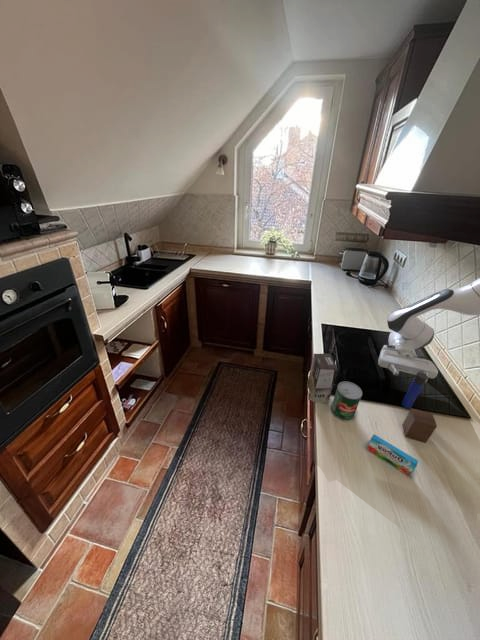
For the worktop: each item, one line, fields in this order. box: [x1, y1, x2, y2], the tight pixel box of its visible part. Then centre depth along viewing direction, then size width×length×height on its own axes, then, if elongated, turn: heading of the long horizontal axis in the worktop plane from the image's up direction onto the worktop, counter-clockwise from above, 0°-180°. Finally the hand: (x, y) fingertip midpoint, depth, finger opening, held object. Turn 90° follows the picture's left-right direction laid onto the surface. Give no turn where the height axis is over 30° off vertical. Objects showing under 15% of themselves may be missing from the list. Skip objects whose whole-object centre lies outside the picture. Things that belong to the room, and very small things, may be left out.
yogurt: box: [365, 433, 419, 477], centre depth 74 cm, size 12×2×6 cm, turn 48°
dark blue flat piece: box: [401, 372, 429, 410], centre depth 90 cm, size 13×3×13 cm
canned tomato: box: [330, 380, 363, 422], centre depth 88 cm, size 8×8×11 cm
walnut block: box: [401, 407, 438, 444], centre depth 81 cm, size 5×6×8 cm
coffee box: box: [306, 353, 339, 404], centre depth 93 cm, size 9×6×16 cm
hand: (410, 377), depth 95 cm, fingers open, 8 cm apart
